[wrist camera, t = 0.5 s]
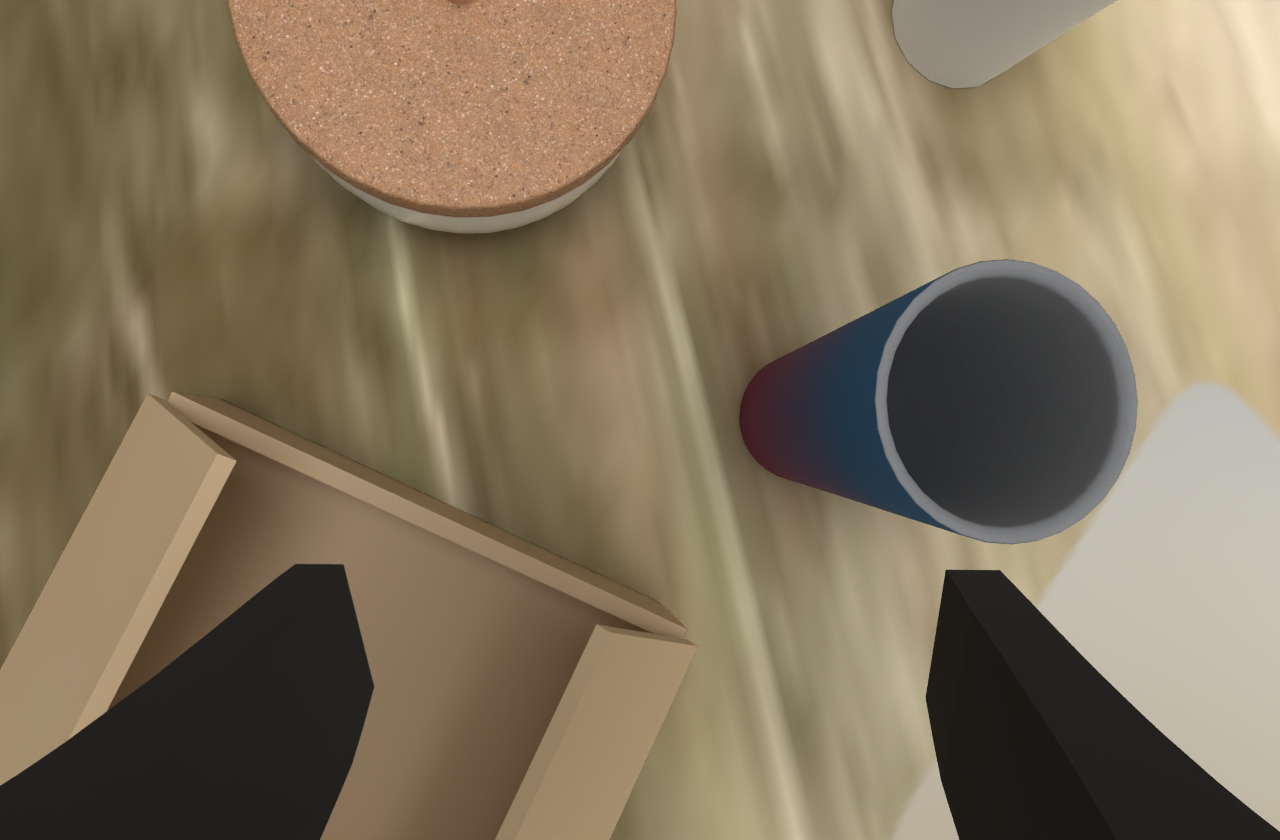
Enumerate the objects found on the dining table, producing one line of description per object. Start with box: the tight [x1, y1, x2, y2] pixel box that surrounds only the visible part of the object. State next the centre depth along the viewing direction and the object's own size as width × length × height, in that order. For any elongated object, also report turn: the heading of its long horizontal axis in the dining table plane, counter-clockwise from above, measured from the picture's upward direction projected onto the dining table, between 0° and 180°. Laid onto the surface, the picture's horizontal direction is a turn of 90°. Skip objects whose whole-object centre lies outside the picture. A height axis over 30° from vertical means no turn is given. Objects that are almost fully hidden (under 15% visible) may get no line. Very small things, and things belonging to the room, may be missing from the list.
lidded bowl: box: [227, 0, 677, 234], centre depth 29 cm, size 13×13×11 cm
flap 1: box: [0, 394, 236, 785], centre depth 24 cm, size 13×7×1 cm
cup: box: [740, 259, 1138, 544], centre depth 29 cm, size 7×7×15 cm
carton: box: [106, 392, 687, 840], centre depth 31 cm, size 14×18×5 cm
